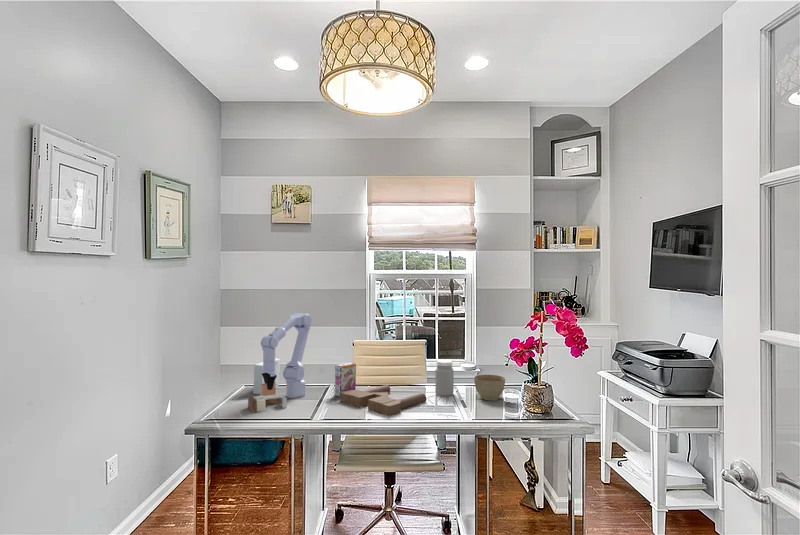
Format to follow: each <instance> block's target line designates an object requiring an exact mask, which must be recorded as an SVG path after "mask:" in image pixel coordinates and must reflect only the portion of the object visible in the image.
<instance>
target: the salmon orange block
mask: <svg viewBox="0 0 800 535" xmlns="http://www.w3.org/2000/svg"><path fill="white" fill-rule="evenodd" d="M276 388H277V387H276V384H275V383H274V385H273V389H272V390H268V388H267V383H265V384H261V395H260V396H262V397H266V396H274V395H276Z"/></svg>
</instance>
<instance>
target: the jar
mask: <svg viewBox="0 0 800 535" xmlns="http://www.w3.org/2000/svg"><path fill="white" fill-rule="evenodd" d="M454 372H455V371H454V369H453V360H450V359H438V360H436V368H435V390H434V391H435V394H436V395H437V394H438V395H440V397H450V395H451V396H452V395H453V394H454V391H455V390H454V387H455V385H454V384H455V383H454V382H455V381H454V376H455V374H454ZM438 395H437V396H438Z"/></svg>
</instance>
